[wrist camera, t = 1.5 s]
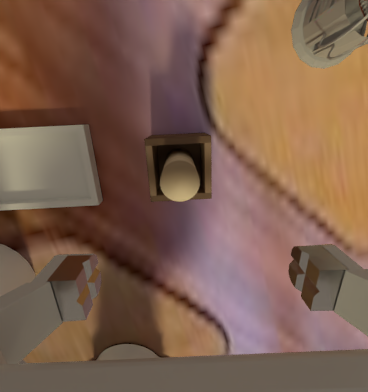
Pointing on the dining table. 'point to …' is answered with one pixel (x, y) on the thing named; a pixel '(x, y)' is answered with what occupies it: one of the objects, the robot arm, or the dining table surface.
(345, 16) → the french press
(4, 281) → the canister
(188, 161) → the dowel
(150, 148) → the pen pot
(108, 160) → the dining table surface
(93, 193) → the tray
